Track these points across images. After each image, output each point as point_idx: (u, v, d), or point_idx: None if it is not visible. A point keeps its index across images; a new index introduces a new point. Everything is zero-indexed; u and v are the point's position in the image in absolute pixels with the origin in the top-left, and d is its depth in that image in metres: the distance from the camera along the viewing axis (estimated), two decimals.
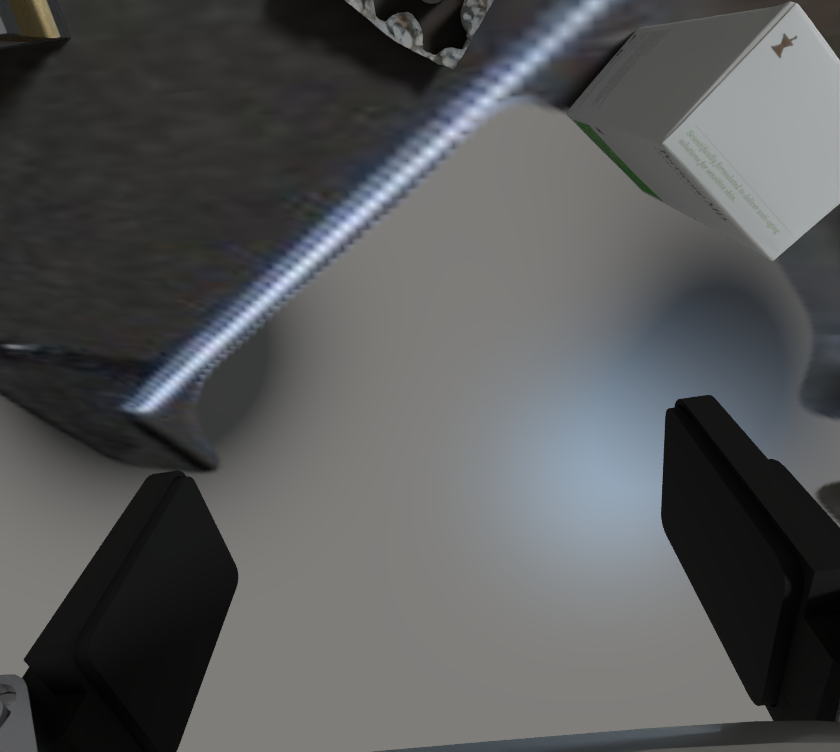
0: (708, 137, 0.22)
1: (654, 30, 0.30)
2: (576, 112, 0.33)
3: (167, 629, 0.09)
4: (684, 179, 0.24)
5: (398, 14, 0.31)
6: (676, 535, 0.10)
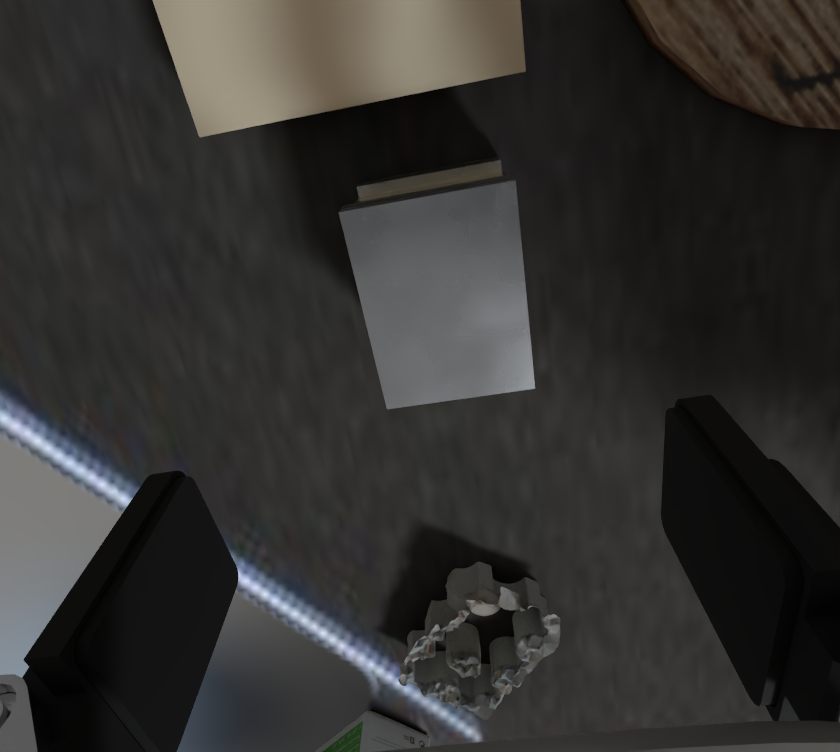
0: None
1: None
2: (367, 739, 0.41)
3: (167, 629, 0.09)
4: None
5: (433, 642, 0.36)
6: (676, 535, 0.10)
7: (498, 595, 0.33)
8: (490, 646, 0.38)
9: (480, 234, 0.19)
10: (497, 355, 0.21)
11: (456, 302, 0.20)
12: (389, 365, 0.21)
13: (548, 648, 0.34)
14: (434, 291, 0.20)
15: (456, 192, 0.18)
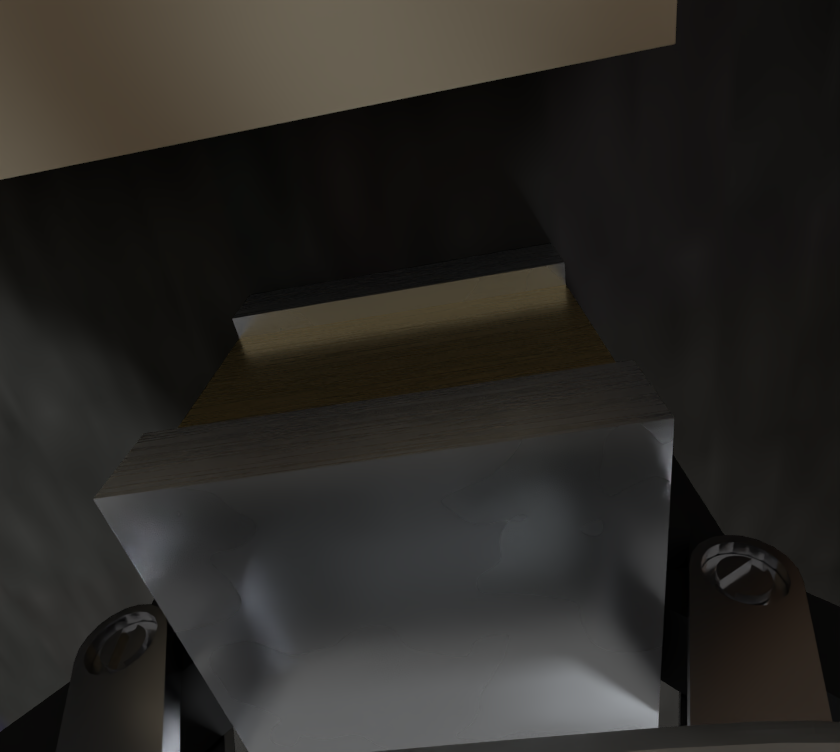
0: None
1: None
2: None
3: None
4: None
5: None
6: None
7: None
8: None
9: (543, 550, 0.06)
10: None
11: (467, 682, 0.07)
12: None
13: None
14: (405, 663, 0.07)
15: (471, 450, 0.05)
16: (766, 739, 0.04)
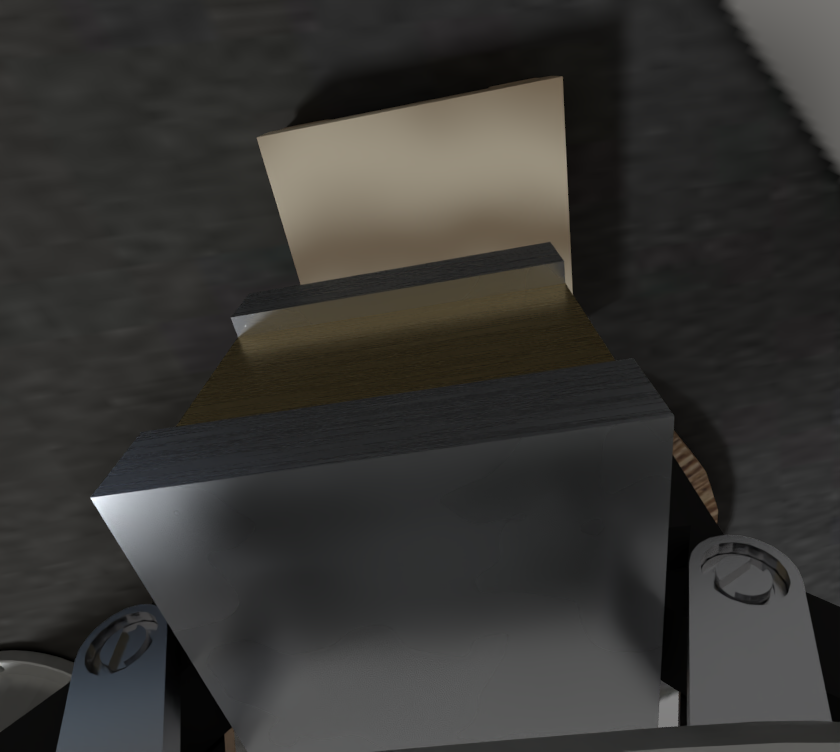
0: None
1: None
2: None
3: None
4: None
5: None
6: None
7: None
8: None
9: (542, 549, 0.06)
10: None
11: (466, 682, 0.07)
12: None
13: None
14: (404, 663, 0.07)
15: (470, 448, 0.05)
16: (766, 739, 0.04)
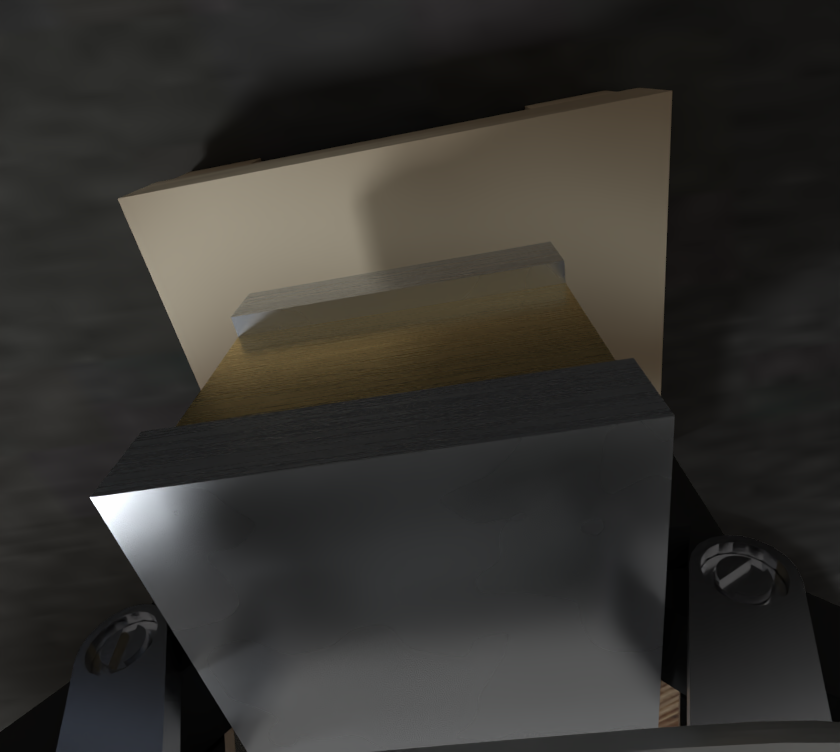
0: None
1: None
2: None
3: None
4: None
5: None
6: None
7: None
8: None
9: (543, 549, 0.06)
10: None
11: (466, 682, 0.07)
12: None
13: None
14: (404, 663, 0.07)
15: (470, 448, 0.05)
16: (766, 739, 0.04)
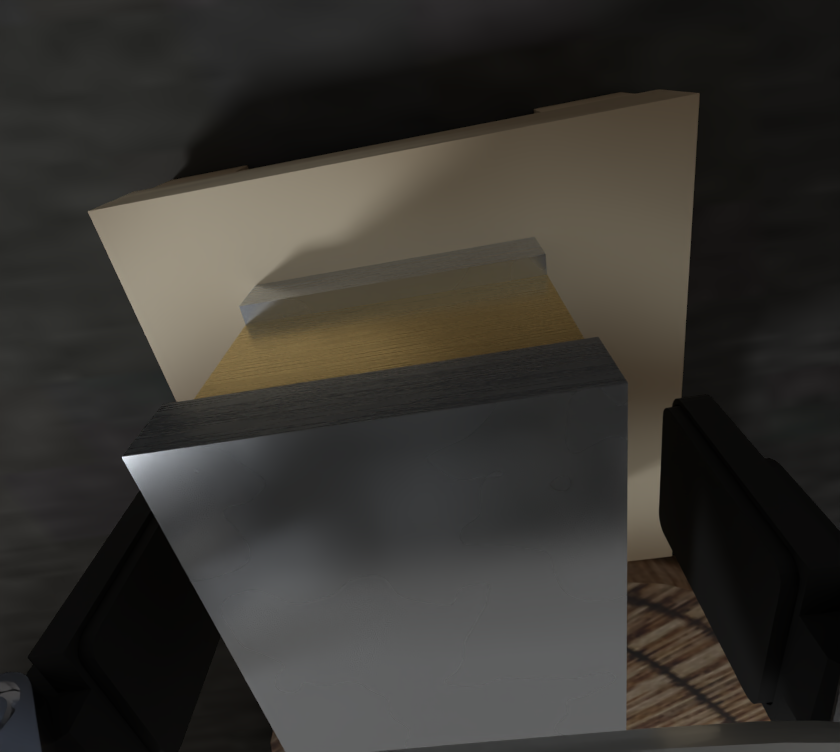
0: None
1: None
2: None
3: (170, 627, 0.09)
4: None
5: None
6: (673, 534, 0.10)
7: None
8: None
9: (518, 504, 0.07)
10: (546, 715, 0.09)
11: (453, 630, 0.08)
12: (302, 728, 0.10)
13: None
14: (397, 611, 0.08)
15: (452, 412, 0.06)
16: (766, 739, 0.04)
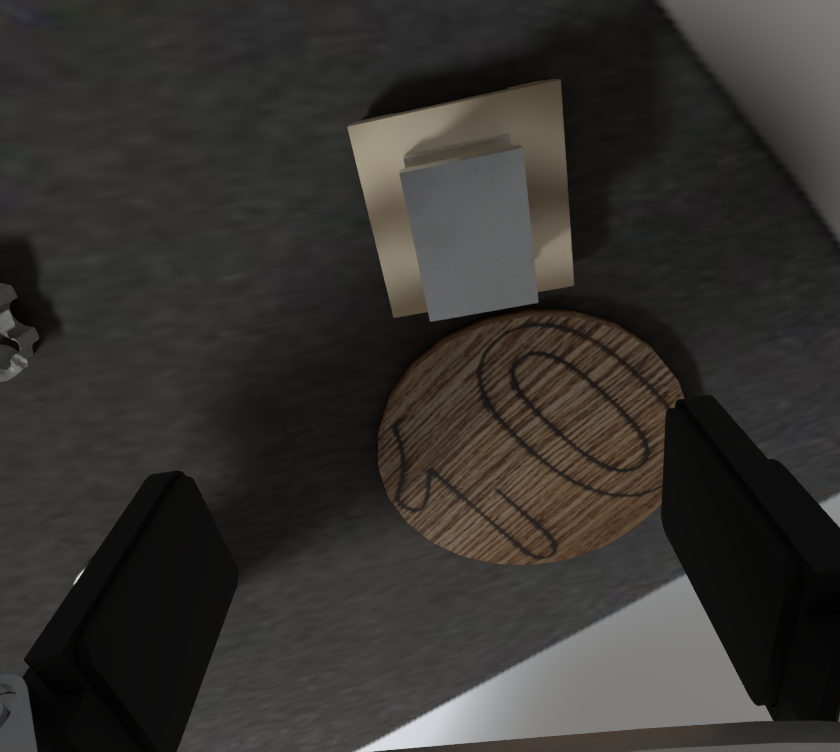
0: None
1: None
2: None
3: (167, 629, 0.09)
4: None
5: None
6: (676, 535, 0.10)
7: None
8: None
9: (498, 187, 0.27)
10: (510, 278, 0.29)
11: (481, 238, 0.28)
12: (432, 287, 0.30)
13: None
14: (465, 229, 0.28)
15: (481, 157, 0.26)
16: (767, 739, 0.04)
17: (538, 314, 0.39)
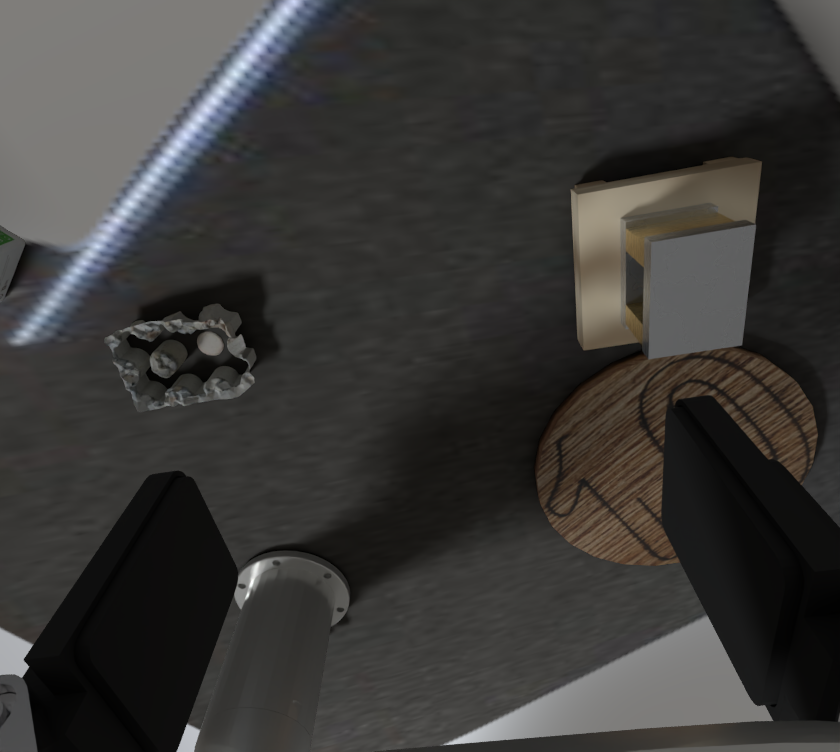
0: None
1: None
2: (7, 252, 0.40)
3: (167, 629, 0.09)
4: None
5: (158, 333, 0.44)
6: (676, 535, 0.10)
7: (235, 336, 0.44)
8: (182, 375, 0.48)
9: (729, 254, 0.33)
10: (723, 325, 0.35)
11: (706, 293, 0.34)
12: (657, 331, 0.36)
13: (229, 394, 0.46)
14: (695, 286, 0.34)
15: (721, 231, 0.33)
16: (766, 739, 0.04)
17: None
